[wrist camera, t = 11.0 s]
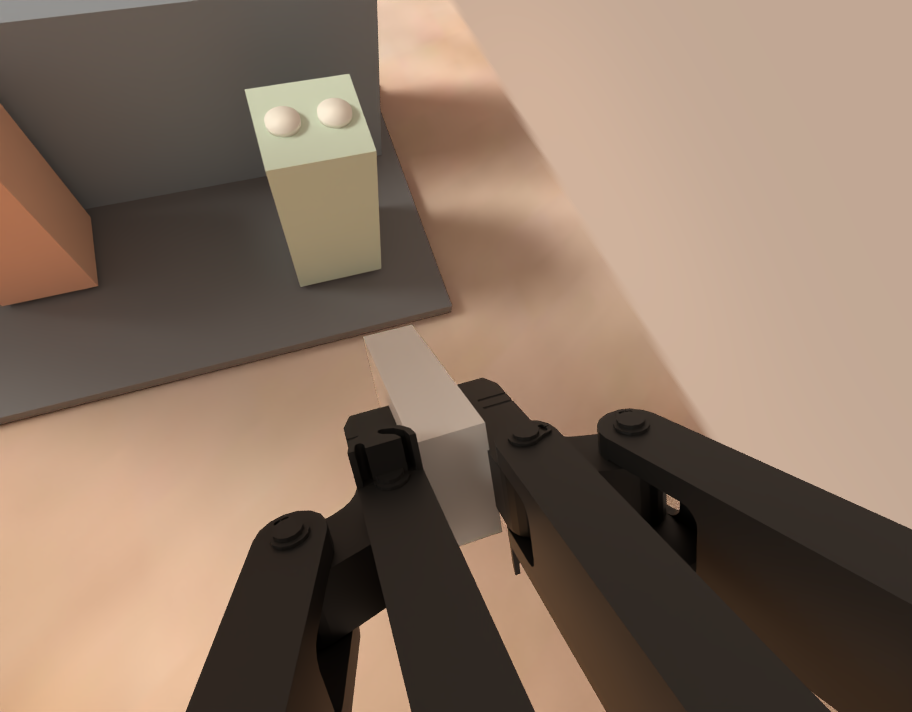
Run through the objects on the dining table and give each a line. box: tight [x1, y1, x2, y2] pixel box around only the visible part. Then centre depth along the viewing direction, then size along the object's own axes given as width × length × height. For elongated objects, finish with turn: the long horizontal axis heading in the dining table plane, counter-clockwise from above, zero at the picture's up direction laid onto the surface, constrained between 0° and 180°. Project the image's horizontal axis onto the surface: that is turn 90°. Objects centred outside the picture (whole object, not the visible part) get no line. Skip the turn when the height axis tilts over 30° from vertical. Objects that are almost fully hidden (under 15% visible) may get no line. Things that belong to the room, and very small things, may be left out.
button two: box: [244, 74, 381, 287], centre depth 31 cm, size 5×5×10 cm
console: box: [0, 0, 452, 425], centre depth 30 cm, size 20×28×13 cm
